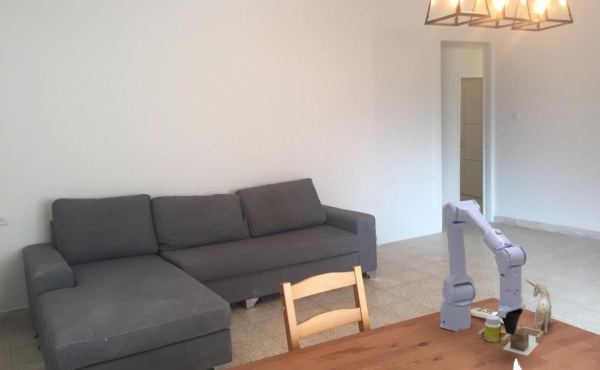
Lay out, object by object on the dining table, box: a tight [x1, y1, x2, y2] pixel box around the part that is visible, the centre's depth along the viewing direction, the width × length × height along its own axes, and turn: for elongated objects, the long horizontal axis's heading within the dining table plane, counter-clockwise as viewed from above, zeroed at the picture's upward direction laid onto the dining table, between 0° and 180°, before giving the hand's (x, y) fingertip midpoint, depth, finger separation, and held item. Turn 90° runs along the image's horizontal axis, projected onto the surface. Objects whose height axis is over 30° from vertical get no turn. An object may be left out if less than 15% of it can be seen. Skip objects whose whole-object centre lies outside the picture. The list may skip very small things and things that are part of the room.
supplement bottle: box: [484, 314, 502, 344], centre depth 156 cm, size 5×5×8 cm
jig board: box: [476, 325, 545, 357], centre depth 156 cm, size 16×16×3 cm
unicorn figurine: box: [525, 278, 553, 334], centre depth 165 cm, size 7×20×13 cm, turn 166°
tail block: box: [509, 327, 529, 352], centre depth 150 cm, size 4×4×5 cm
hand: (510, 333), depth 144 cm, fingers closed
